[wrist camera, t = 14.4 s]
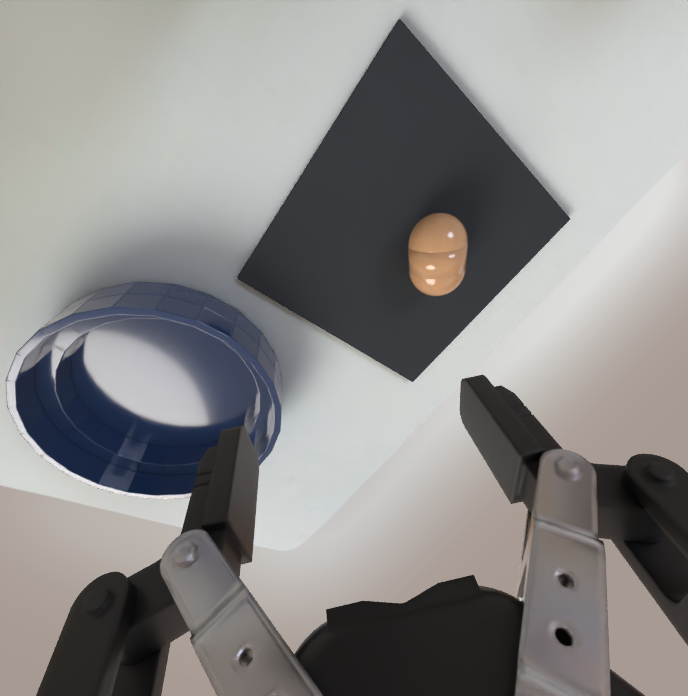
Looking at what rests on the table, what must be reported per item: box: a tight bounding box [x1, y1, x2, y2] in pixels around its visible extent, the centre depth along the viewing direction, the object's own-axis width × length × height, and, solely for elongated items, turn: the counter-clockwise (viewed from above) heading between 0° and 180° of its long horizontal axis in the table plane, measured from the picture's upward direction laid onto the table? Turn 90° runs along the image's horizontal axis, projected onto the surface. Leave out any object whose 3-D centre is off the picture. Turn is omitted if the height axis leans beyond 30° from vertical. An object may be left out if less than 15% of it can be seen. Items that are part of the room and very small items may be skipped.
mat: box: [238, 19, 570, 382], centre depth 29 cm, size 20×20×1 cm
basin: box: [6, 282, 282, 499], centre depth 31 cm, size 20×20×5 cm
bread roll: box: [408, 212, 468, 296], centre depth 27 cm, size 6×4×4 cm
